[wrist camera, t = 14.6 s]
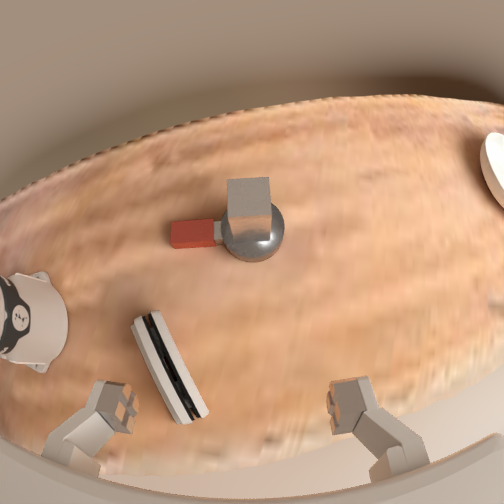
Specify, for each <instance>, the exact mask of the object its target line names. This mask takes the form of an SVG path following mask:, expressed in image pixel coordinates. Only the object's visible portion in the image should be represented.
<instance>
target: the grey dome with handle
mask: <svg viewBox="0 0 504 504" xmlns="http://www.w3.org/2000/svg"><path fill="white" fill-rule="evenodd" d="M271 210H272V220H271V233H270V241H262V242H245V243H235V241H234V238H233V234H232V231H231V227H230V224H229V220H228V209H227V210H226V212H225V213H224V215H223V217H222V220H221V221H214V219H200V220H187V221H175V222H171V236H170V244H171V245H172V246H173V247H174V248H175V249H179V248H196V247H212V246H216V244H225V245H226V247H227V249H228V250H229V252H230V253H231V254H232V255H233V256H235V257H236V258H238V259H240V260H242V261H245V262H260V261H264V260H266V259H268V258H270V257H271V256H273V255H274V254H275V253H276V252H277V250H278V249H279V247H280V245H281V243H282V239H283V234H284V220H283V217H282V215H281V213H280V211H279V210H278V209H277V207H276V206H274V205H273V204H272V203H271Z"/></svg>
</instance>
